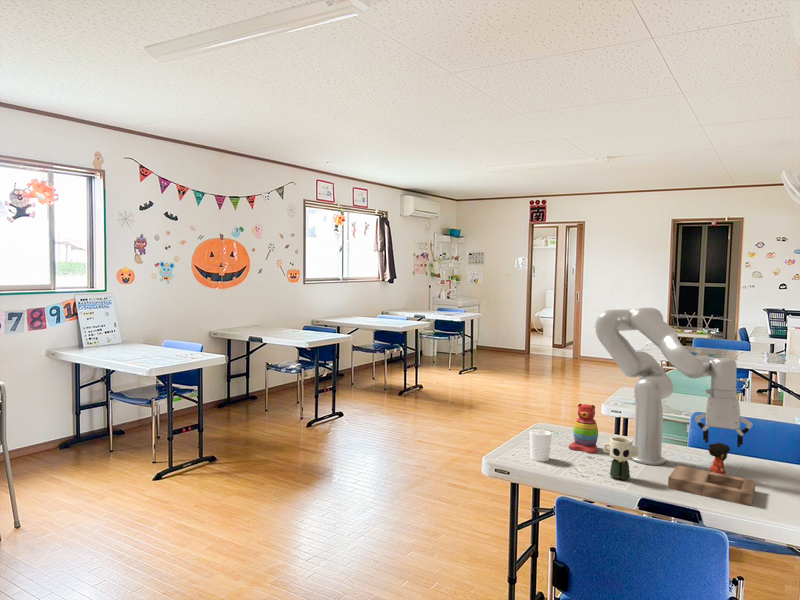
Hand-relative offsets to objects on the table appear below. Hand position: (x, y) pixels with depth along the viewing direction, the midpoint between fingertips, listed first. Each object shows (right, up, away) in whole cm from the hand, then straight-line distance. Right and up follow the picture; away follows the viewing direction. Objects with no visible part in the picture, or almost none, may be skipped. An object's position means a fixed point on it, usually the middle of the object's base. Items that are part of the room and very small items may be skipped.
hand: (722, 444), depth 194 cm
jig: (-10, -12, -11) cm, 19 cm away
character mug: (-36, -11, -2) cm, 38 cm away
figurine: (-1, -12, +1) cm, 12 cm away
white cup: (-59, -10, +16) cm, 62 cm away
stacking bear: (-37, -10, +31) cm, 49 cm away
